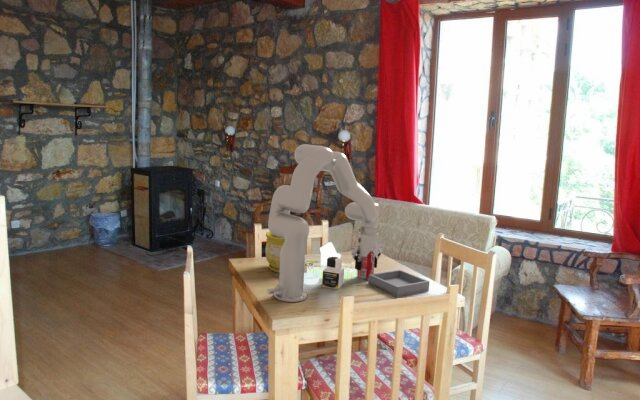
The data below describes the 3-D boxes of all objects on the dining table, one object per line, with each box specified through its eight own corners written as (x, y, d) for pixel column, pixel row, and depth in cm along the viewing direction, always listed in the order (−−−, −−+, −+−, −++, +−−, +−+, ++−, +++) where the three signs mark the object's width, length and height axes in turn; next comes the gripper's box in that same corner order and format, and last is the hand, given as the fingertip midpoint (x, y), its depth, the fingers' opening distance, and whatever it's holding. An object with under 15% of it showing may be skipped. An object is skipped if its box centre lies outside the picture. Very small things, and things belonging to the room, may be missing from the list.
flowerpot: (297, 277, 223) (299, 240, 220) (258, 272, 227) (259, 236, 225) (308, 266, 240) (310, 232, 237) (272, 261, 244) (274, 228, 242)
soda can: (372, 281, 224) (374, 252, 222) (356, 279, 226) (358, 250, 224) (374, 276, 231) (376, 248, 229) (358, 274, 233) (360, 246, 231)
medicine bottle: (321, 286, 213) (323, 258, 211) (327, 282, 219) (329, 254, 217) (338, 289, 210) (340, 261, 208) (343, 284, 217) (345, 257, 215)
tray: (396, 296, 206) (397, 287, 205) (368, 283, 221) (368, 274, 220) (428, 290, 216) (429, 281, 216) (399, 278, 231) (399, 269, 230)
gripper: (358, 233, 217) (355, 273, 220) (389, 230, 227) (386, 268, 230) (347, 230, 223) (345, 268, 226) (378, 227, 233) (375, 264, 236)
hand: (365, 268), depth 228 cm, fingers open, 8 cm apart
